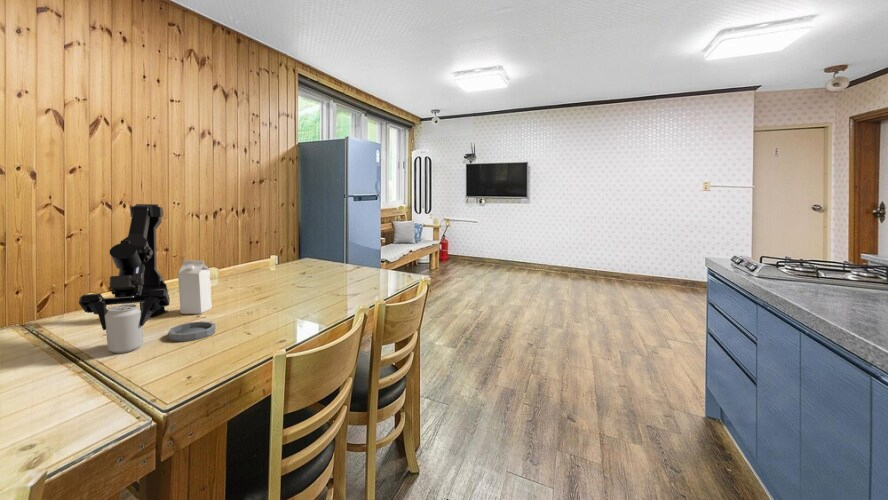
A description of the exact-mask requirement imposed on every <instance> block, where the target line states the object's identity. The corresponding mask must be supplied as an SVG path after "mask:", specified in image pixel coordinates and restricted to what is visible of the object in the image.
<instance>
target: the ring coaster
mask: <svg viewBox="0 0 888 500" xmlns="http://www.w3.org/2000/svg"><path fill="white" fill-rule="evenodd" d="M215 333H216V323H214V322H213V321H203V320H202V321H191V322H186V323H181V324H178V325H176V326H173V327H171V328H170V329H169V330H168V337H169V339H170V340H171V341H173V342H191V341H192V342H193V341H197V340H201V339H205V338H208V337H211V336H212V335H214V334H215Z"/></svg>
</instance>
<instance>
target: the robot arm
mask: <svg viewBox="0 0 888 500" xmlns="http://www.w3.org/2000/svg"><path fill="white" fill-rule="evenodd" d="M129 213H130V217H131V219H130V225H129V228H128V229H129V230H128V233H127V234H128V235H127V236H126V237H125V238H123V239H122V240H120V242H119V243H117V244H115V245H114V246H112V247H111V248H110V249H109V255H110V257H111V259H112V261H113V264H114V266H115V268H116V269H118V275H112V276H110V277H109V287H108V288H109V289H110V290H111V295H113V297H111V296H109V297H103V295H102V294H101V293H84V294H82V295H81V296H80V297H79V300H78V304H79V306H80V307H81V308H82V309H83V311H84V313H87V314H90V313H91V314H92V313H93V314H94V315H98V318H99V321H100V324H101V325H100V326H101V328H102V331H106V324H105V314H106V313H107V312H108V309H107V306H112V305H127V304H138V303H139V309H140V310H141V320H140V325H141V326H142V327H143V326H144V325H145V324H146V322H147V321H148V320H149V318H153V317H157V316H159V315H162V314H166V313H168V312H169V310H167V309H165V307H168V306H169V305H170V302H171V301H170V295H169V291H168V286H167V283H165V280H163V275H161V273H160V272H159V271H158V269H157V264H158V263H157V229H158V228H159V226H160V225H161V224H162V218H164V209H163V207H162V206H161V207H160V206H159V204H157V203H155V204H154V203H150V204H149V203H136V204H135V205H132V206H129Z"/></svg>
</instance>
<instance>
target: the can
mask: <svg viewBox="0 0 888 500" xmlns="http://www.w3.org/2000/svg"><path fill="white" fill-rule="evenodd" d="M107 310H108V312H107V313H106V314H105V324H106V330H105V334H106V343H107V344H106V345H107V350H108V351H109V352H112V353H114V354H125V353H130V352H134V351H136V350H138V349H141V347H142V346H143V344H144V343H145V341H144V329H143V326H141V325H140V320H141V310H140V308H138V305H137V304H135V303H128V304H118V305H115V306H111V307H108V309H107Z"/></svg>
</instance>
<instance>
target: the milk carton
mask: <svg viewBox="0 0 888 500" xmlns="http://www.w3.org/2000/svg"><path fill="white" fill-rule="evenodd" d="M182 262H183V263H182V265H181V267H180V269H179V271H178V273H177V278H178V281H177V282H178V292H179V308H180V309H179V310H180V314H184V315H191V314H192V315H197V314H199V315H201V314H204V313H205V312H207V311H209V310H211V309H213V307H212V304H213V303H212V302H213V301H212V290H211V289H212V287H211V269H210V268H209V267H208V266H207V265H206V264H205V260H185V259H184V260H182Z"/></svg>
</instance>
